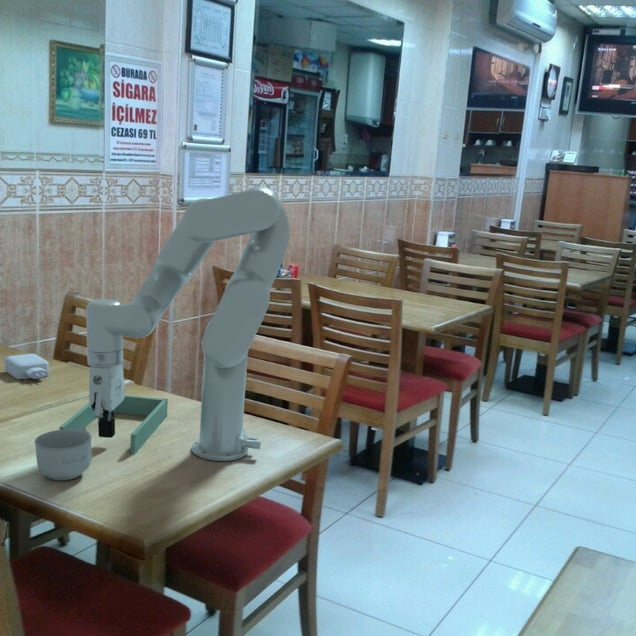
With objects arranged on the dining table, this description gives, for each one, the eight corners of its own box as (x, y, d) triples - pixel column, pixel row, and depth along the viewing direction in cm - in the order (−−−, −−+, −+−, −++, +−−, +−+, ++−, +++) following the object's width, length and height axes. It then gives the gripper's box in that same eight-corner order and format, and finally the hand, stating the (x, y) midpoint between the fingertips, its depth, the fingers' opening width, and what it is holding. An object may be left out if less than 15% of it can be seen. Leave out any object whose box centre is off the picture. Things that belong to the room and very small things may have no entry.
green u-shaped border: (167, 416, 189) (167, 399, 188) (134, 454, 164) (135, 434, 163) (101, 409, 190) (101, 392, 189) (59, 446, 165) (59, 426, 164)
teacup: (66, 490, 144) (67, 451, 143) (22, 477, 148) (22, 439, 147) (111, 465, 157) (112, 429, 156) (69, 454, 161) (70, 419, 159)
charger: (24, 386, 203) (4, 372, 214) (57, 382, 209) (36, 368, 220) (24, 370, 202) (4, 356, 213) (58, 365, 208) (36, 353, 219)
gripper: (110, 366, 156) (111, 449, 159) (133, 349, 170) (134, 425, 174) (75, 364, 156) (77, 447, 160) (100, 347, 171) (102, 423, 174)
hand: (106, 435), depth 167 cm, fingers closed
